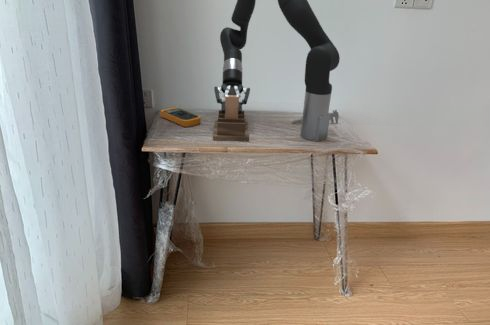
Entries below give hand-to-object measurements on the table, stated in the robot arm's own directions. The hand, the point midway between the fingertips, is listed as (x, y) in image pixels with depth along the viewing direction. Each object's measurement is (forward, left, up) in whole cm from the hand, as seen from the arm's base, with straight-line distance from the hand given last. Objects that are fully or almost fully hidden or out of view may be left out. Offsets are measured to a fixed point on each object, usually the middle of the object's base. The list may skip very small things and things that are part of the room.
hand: (231, 112), depth 134 cm
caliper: (-11, -37, -9) cm, 39 cm away
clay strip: (+2, -1, -5) cm, 6 cm away
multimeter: (+24, +7, -9) cm, 26 cm away
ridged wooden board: (+1, -1, -8) cm, 8 cm away
